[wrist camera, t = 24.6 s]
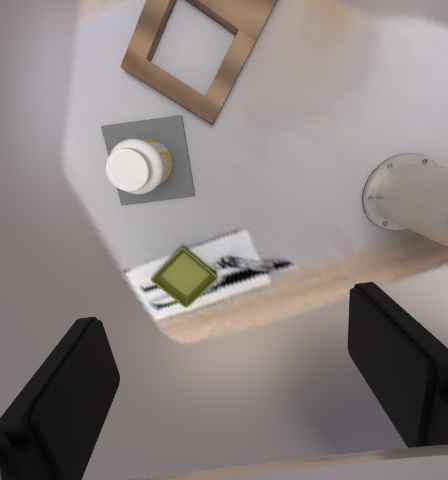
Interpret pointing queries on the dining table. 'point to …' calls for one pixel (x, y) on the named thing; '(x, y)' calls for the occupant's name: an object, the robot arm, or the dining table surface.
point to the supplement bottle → (139, 165)
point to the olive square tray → (184, 278)
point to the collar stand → (247, 31)
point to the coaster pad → (174, 139)
